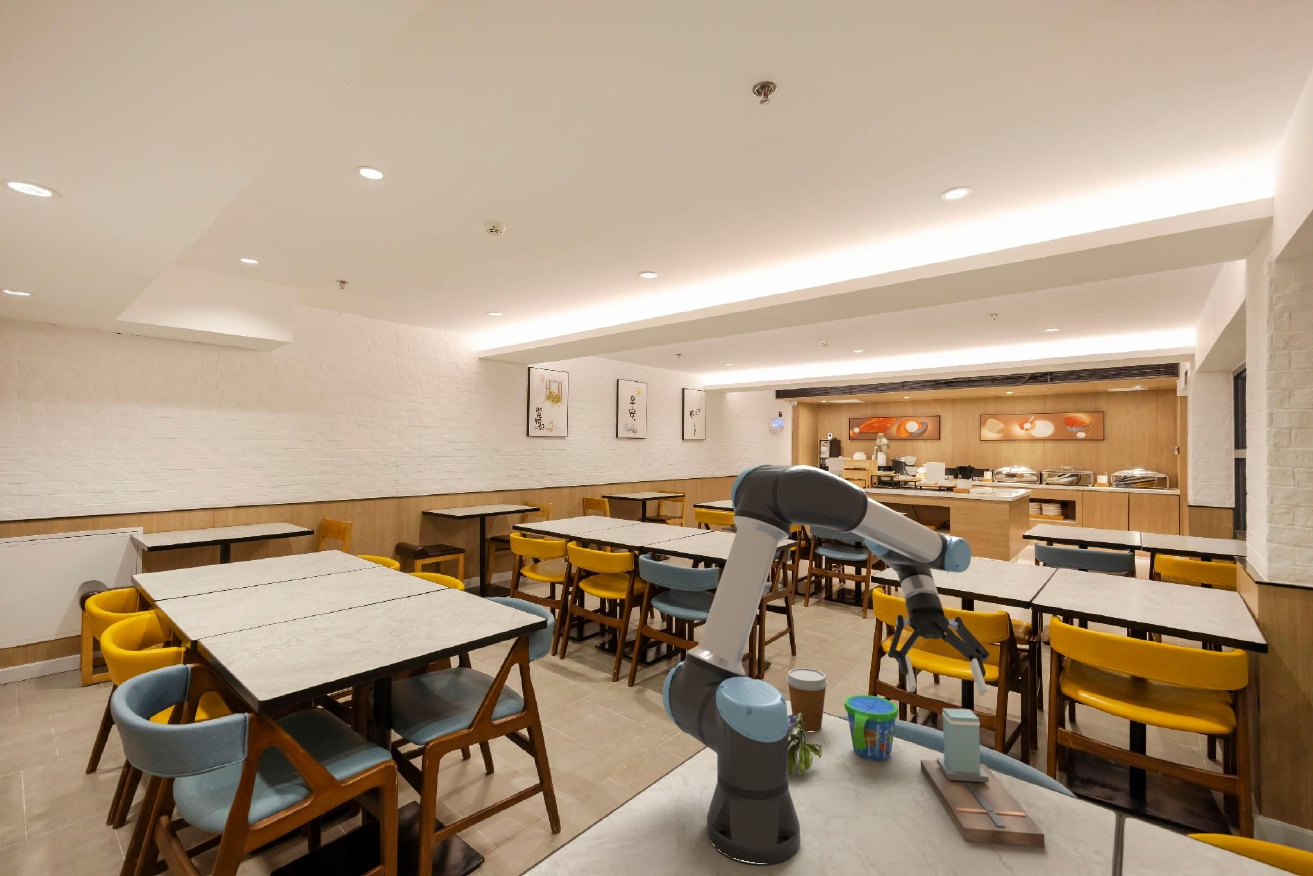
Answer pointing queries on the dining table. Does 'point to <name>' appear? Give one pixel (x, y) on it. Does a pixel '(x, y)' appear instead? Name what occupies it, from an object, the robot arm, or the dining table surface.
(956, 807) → the fader track
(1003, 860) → the dining table surface
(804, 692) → the disposable coffee cup
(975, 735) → the cap
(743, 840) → the robot arm
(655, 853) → the dining table surface
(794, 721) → the passion flower
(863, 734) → the snack cup
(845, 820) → the dining table surface
